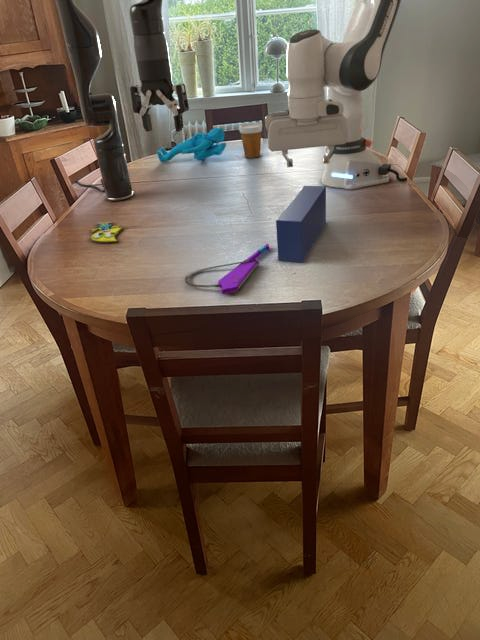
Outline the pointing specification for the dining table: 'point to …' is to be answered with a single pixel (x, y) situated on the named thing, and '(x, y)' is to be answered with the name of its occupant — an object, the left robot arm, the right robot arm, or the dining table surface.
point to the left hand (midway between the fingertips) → (164, 131)
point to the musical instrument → (234, 273)
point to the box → (301, 223)
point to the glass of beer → (251, 139)
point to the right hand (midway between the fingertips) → (308, 164)
